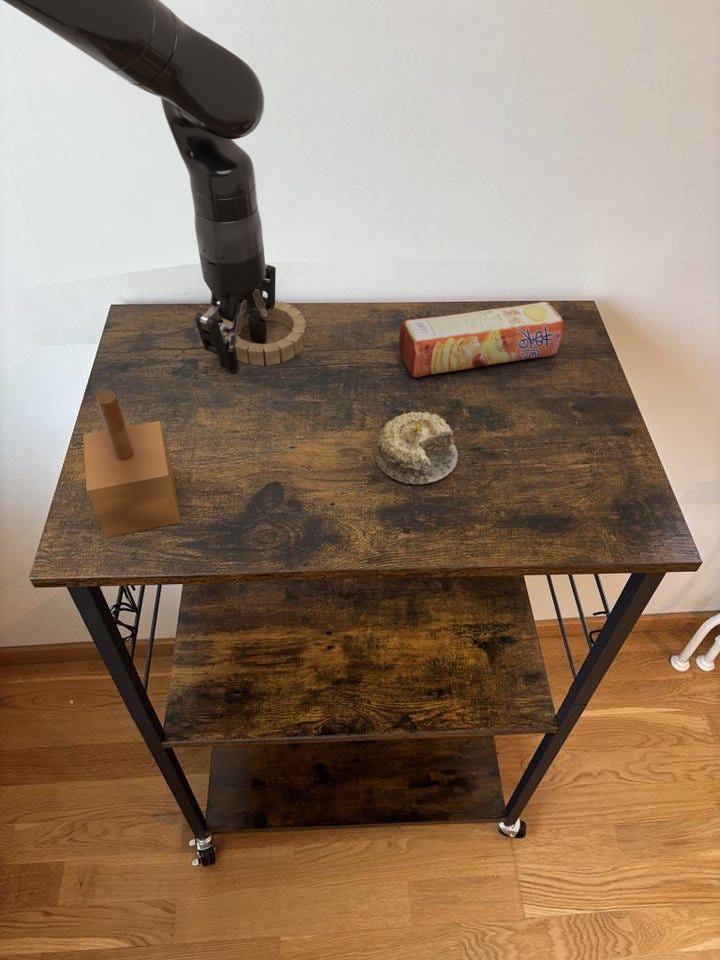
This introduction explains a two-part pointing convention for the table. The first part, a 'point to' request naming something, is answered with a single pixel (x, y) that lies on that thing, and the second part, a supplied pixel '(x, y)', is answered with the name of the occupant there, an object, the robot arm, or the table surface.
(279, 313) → the ring
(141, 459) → the post
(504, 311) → the snack package
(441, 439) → the cake
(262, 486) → the table surface
